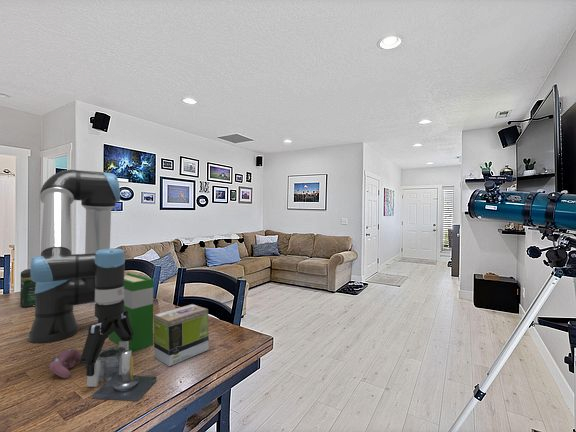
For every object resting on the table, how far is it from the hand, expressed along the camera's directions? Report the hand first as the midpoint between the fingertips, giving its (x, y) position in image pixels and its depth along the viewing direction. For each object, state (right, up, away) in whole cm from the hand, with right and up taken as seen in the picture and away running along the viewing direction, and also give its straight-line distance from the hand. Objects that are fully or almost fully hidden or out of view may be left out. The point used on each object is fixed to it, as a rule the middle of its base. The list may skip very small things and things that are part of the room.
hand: (109, 373), depth 87 cm
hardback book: (-5, 0, +22) cm, 22 cm away
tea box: (+17, -1, +13) cm, 21 cm away
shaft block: (+9, 0, -8) cm, 12 cm away
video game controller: (-13, 0, +1) cm, 13 cm away
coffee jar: (-79, +1, +64) cm, 102 cm away
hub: (0, 0, 0) cm, 0 cm away
